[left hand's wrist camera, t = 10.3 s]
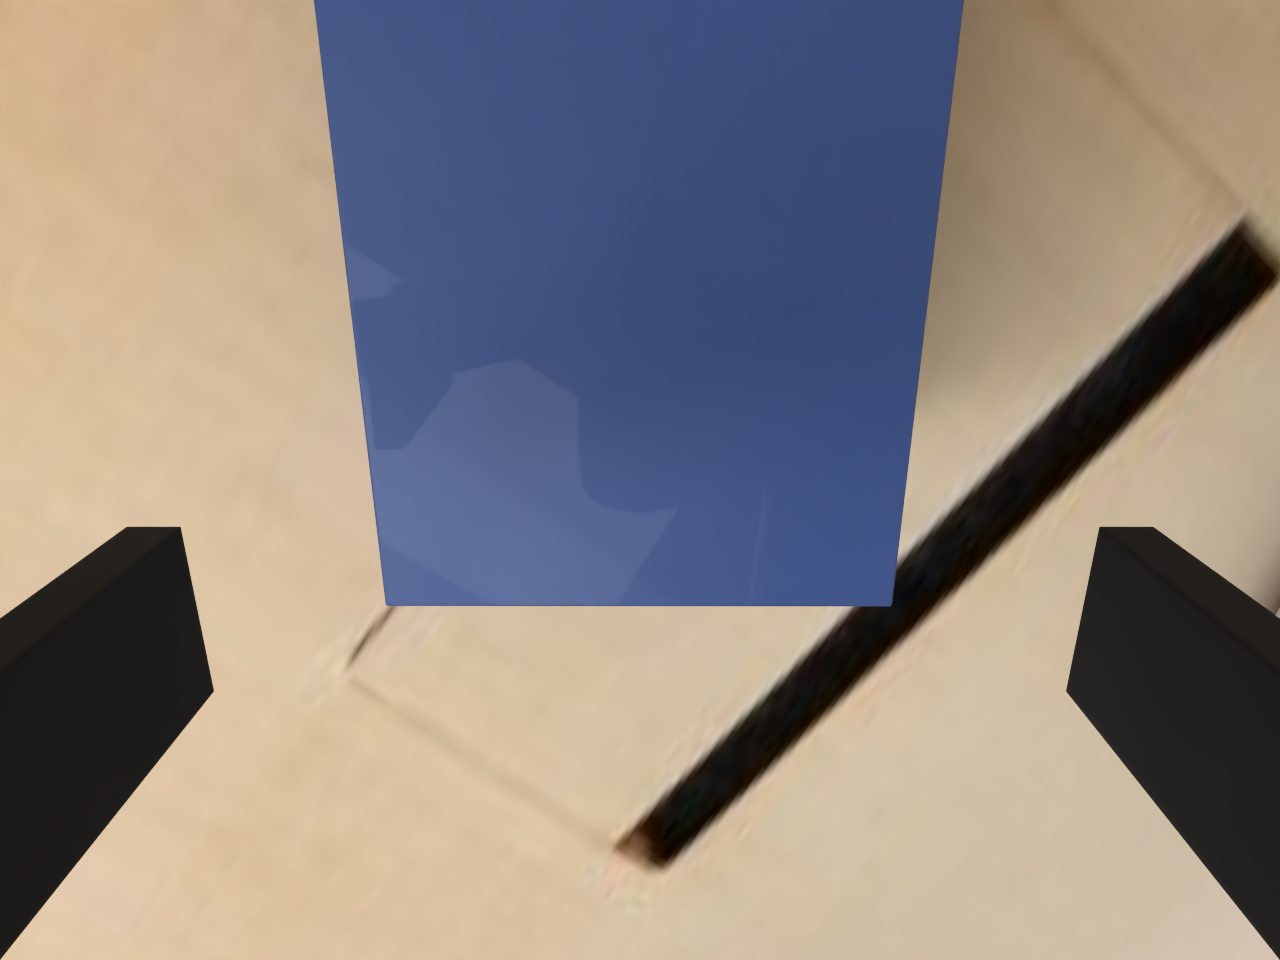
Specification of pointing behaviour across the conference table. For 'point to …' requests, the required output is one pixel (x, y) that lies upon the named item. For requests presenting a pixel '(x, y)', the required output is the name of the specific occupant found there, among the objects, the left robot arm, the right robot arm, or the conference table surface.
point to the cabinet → (638, 290)
